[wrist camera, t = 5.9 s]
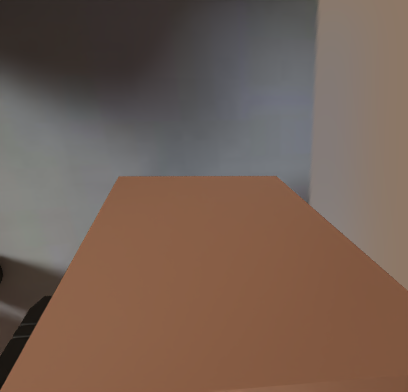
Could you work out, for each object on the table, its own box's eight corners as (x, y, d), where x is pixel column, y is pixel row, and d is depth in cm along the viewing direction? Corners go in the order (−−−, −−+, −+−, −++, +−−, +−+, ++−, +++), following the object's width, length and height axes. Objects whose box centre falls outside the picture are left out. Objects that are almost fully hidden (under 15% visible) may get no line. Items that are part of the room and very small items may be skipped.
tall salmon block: (118, 176, 11) (-11, 410, 3) (276, 175, 12) (494, 367, 4) (128, 306, 14) (67, 635, 6) (260, 299, 14) (379, 581, 6)
